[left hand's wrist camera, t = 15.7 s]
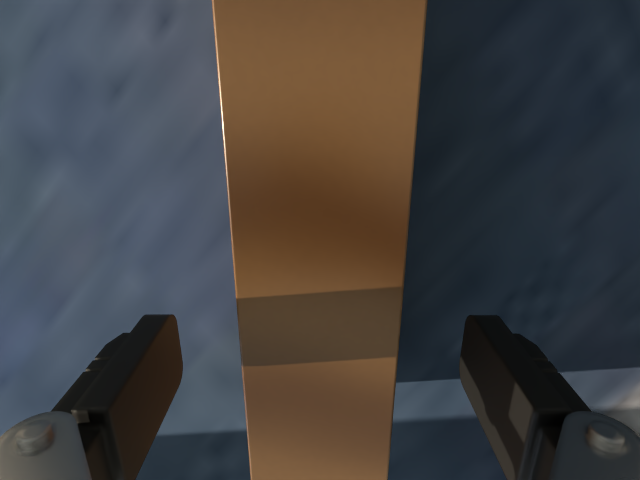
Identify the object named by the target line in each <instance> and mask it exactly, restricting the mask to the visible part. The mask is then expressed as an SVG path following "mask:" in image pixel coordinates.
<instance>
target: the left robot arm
mask: <svg viewBox="0 0 640 480" xmlns="http://www.w3.org/2000/svg"><path fill="white" fill-rule="evenodd" d="M182 371H183V361H182V354H181V347H180V340H179V333H178V326H177V320H176V318H175V316H174V315H144V316H143V317H142V318H141V319H140V321H139V322H138V323H137V325H136V326H135V327H134V328H133V330H132V331H131V332H130V333H123V334H121V335H120V336H118V337H117V338H115V339H114V340H112V341H111V342H109V343H108V344H106V345H105V346H104V348H103V349H102V350H101V351H100V352H99V354H98V355H97V356H96V357H95V361H92V362H91V363H90V365H89V366H88V367H87V368H86V372H83V373H82V374H81V375H80V377H79V378H78V379H77V380H76V382H75V383H74V384H73V385H72V386H71V388H70V389H69V390H68V391H67V392H66V394H65V395H64V396H63V397H62V398H61V400H60V401H59V402H58V403H57V405H56V406H55V407H54V408H53V409H52V411H51V412H45V413H41V414H38V415H35V416H32V417H30V418H27V419H25V420H23V421H21V422H19V423H18V424H16V425H15V426H13V427H12V428H10V429H9V430H8V431H6V432H5V433H4V434H3V435H2V436H1V437H0V480H135V479H136V477H137V475H138V473H139V470H140V468H141V466H142V464H143V462H144V460H145V458H146V456H147V453H148V451H149V449H150V447H151V445H152V443H153V441H154V438H155V436H156V434H157V432H158V430H159V428H160V426H161V424H162V421H163V419H164V417H165V415H166V413H167V411H168V409H169V406H170V404H171V402H172V400H173V398H174V396H175V394H176V392H177V389H178V387H179V385H180V382H181V378H182ZM459 371H460V378H461V383H462V385H463V388H464V390H465V392H466V394H467V396H468V398H469V400H470V403H471V405H472V407H473V409H474V411H475V413H476V415H477V417H478V419H479V422H480V424H481V426H482V428H483V430H484V432H485V434H486V436H487V438H488V440H489V443H490V445H491V447H492V449H493V451H494V453H495V455H496V457H497V459H498V462H499V464H500V466H501V468H502V470H503V472H504V474H505V476H506V478H507V480H640V437H639V436H638V435H637V434H636V433H635V432H634V431H632V430H631V429H630V428H628V427H627V426H625V425H624V424H622V423H621V422H619V421H617V420H615V419H613V418H610V417H608V416H605V415H602V414H599V413H595V412H592V411H591V410H590V409H589V408H588V406H587V405H586V404H585V403H584V402H583V400H582V399H581V398H580V397H579V396H578V394H577V393H576V392H575V391H574V390H573V388H572V387H571V386H570V385H569V384H568V382H567V381H566V380H565V379H564V378H563V376H562V375H561V374H560V373H557V369H556V368H555V367H554V366H553V364H552V363H551V362H548V358H547V357H546V356H545V355H544V354H543V352H542V351H541V350H540V349H539V348H538V346H537V345H535V344H534V343H532V342H531V341H529V340H528V339H526V338H525V337H523V336H522V335H520V334H512V332H511V331H510V330H509V328H508V327H507V326H506V325H505V323H504V322H503V321H502V319H501V318H500V317H499V316H497V315H469V316H468V317H467V319H466V322H465V328H464V335H463V342H462V349H461V356H460V363H459Z"/></svg>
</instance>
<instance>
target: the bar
mask: <svg viewBox="0 0 640 480" xmlns="http://www.w3.org/2000/svg"><path fill="white" fill-rule="evenodd" d="M427 2H428V0H212V8H213V20H214V32H215V44H216V57H217V69H218V81H219V94H220V106H221V118H222V130H223V143H224V155H225V167H226V180H227V192H228V204H229V216H230V229H231V241H232V253H233V266H234V278H235V290H236V302H237V315H238V327H239V339H240V352H241V364H242V376H243V388H244V401H245V413H246V425H247V438H248V450H249V462H250V474H251V480H388V470H389V458H390V446H391V434H392V422H393V410H394V398H395V386H396V374H397V362H398V350H399V338H400V326H401V314H402V302H403V290H404V278H405V266H406V254H407V242H408V230H409V218H410V206H411V194H412V182H413V170H414V158H415V146H416V134H417V122H418V110H419V98H420V86H421V74H422V62H423V50H424V38H425V26H426V14H427Z"/></svg>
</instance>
